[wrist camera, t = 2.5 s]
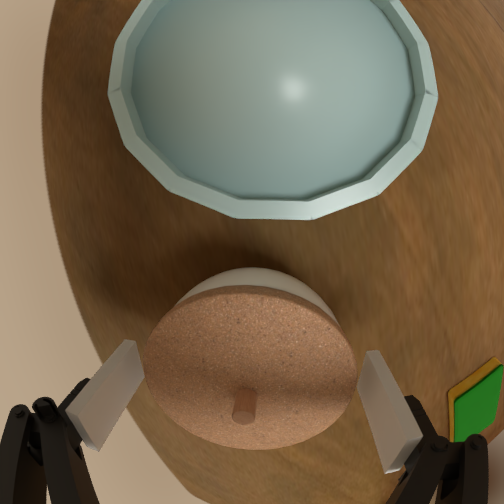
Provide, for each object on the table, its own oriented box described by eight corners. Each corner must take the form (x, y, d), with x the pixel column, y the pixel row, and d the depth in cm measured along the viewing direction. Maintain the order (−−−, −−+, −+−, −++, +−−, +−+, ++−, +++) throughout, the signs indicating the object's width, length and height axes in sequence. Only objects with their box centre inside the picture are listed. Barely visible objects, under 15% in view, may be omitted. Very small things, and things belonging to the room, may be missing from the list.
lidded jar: (272, 393, 21) (267, 485, 12) (161, 327, 20) (105, 408, 11) (360, 302, 18) (412, 389, 9) (236, 213, 18) (196, 250, 8)
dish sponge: (448, 439, 23) (454, 450, 21) (446, 388, 21) (455, 402, 18) (487, 412, 22) (494, 422, 20) (493, 353, 19) (504, 364, 17)
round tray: (145, -17, 13) (134, -31, 10) (393, -17, 11) (403, -31, 9) (124, 214, 18) (106, 220, 16) (420, 220, 16) (439, 227, 14)
